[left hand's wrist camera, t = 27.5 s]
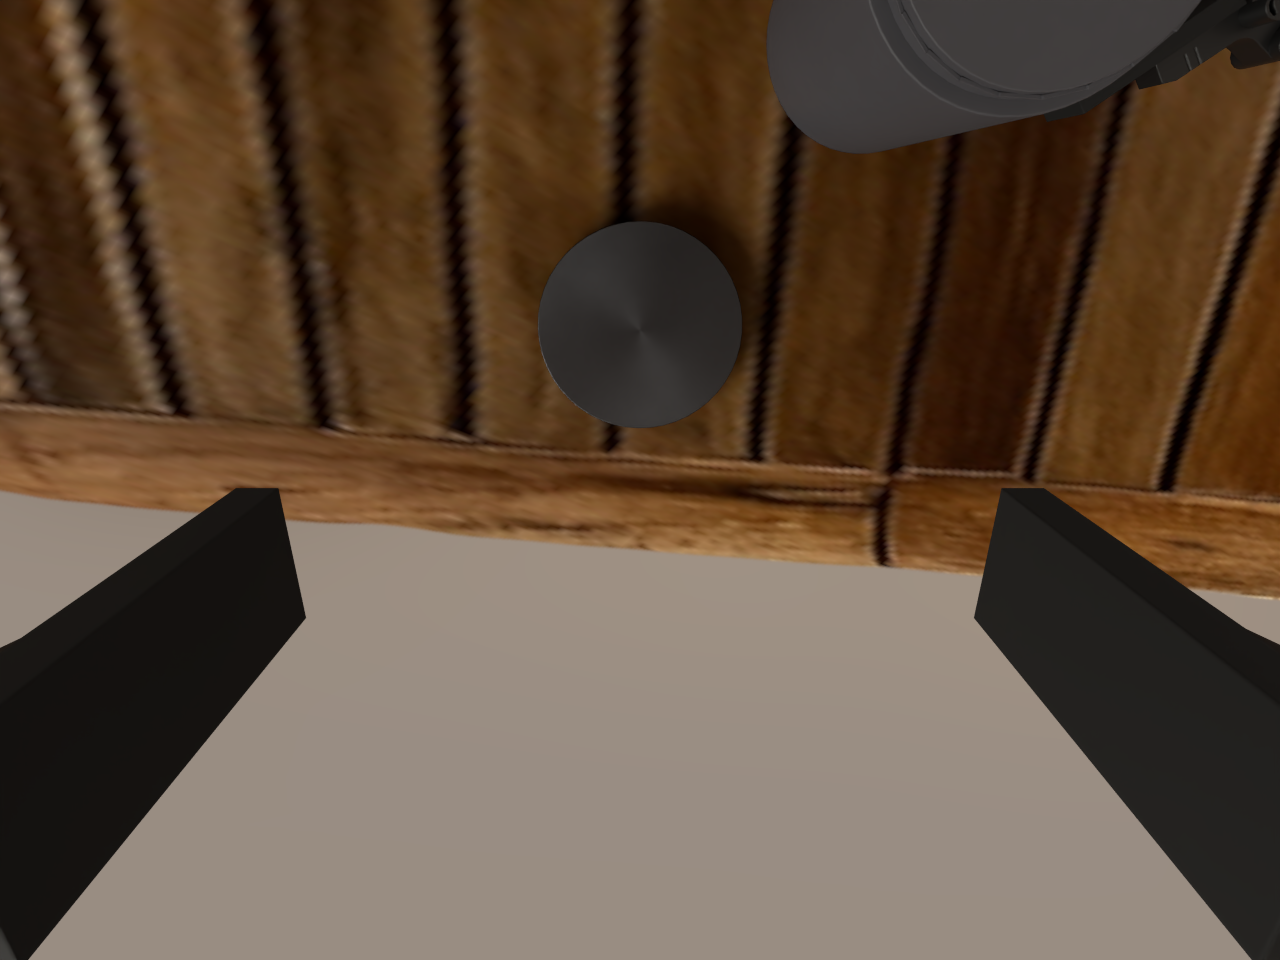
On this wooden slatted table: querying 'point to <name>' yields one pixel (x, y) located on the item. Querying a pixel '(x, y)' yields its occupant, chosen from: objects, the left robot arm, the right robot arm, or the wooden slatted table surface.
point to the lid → (640, 324)
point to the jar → (949, 62)
